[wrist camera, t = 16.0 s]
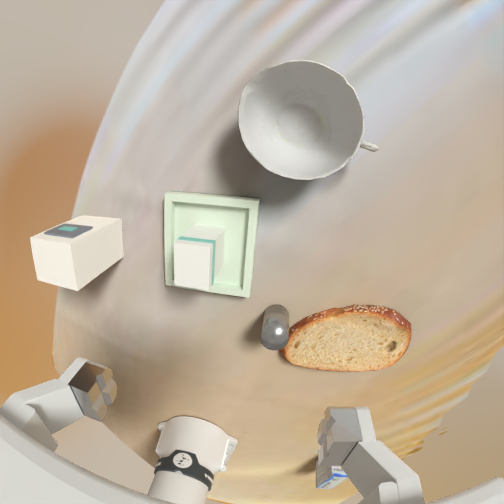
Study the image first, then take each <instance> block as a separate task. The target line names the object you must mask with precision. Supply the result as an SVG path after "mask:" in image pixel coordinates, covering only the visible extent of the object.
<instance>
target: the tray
mask: <svg viewBox="0 0 504 504" xmlns="http://www.w3.org/2000/svg"><path fill="white" fill-rule="evenodd" d="M259 205H260V199H259V198H249V197H239V196H229V195H217V194H205V193H192V192H178V191H169V192H167V193H165V204H164V247H165V281H166V285H168V286H174V287H180V288H186V289H192V290H199V291H206V292H212V293H219V294H226V295H233V296H241V297H248V298H250V294H251V288H252V278H253V267H254V257H255V247H256V237H257V226H258V216H259ZM195 224H199V225H209V226H218V227H226V231H225V247H224V263H223V265H222V267H221V269H220V271H219V273H218V275H217V276H216V278H215V280H214V283H213V285H212V286H211V287H210V289H209V290H202V289H196V288H189V287H183V286H177V285H175V284H174V242H175V241H176V240H177V239H178V238H179V237H180V236H182V235H184V234H185V233H186V232H187V231H188V230H189V229H191V228H192V227H193V226H194V225H195Z"/></svg>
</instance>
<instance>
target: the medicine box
mask: <svg viewBox="0 0 504 504" xmlns="http://www.w3.org/2000/svg"><path fill="white" fill-rule="evenodd" d="M346 478H348V476H347V475H346V473H345V472H344V471H343V469H342V468H341V466H319V459H318V460H317V461H316V488H321V489H332V488H334V487H335V486H337V485H338V484H340V483H341V482H342V481H344V480H345V479H346Z"/></svg>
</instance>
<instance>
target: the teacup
mask: <svg viewBox="0 0 504 504" xmlns="http://www.w3.org/2000/svg"><path fill="white" fill-rule="evenodd" d="M238 125H239V129H240V132H241V137H242V140H243V142H244V144H245V146H246V149H247V150H248V152H249V153H250V154H251V155H252V156H253V158H254V159H255V160H256V161H257V162H259V163H260V164H261V165H263V167H264V168H265V169H267V170H269V171H271V172H272V173H274V174H276V175H280V176H283V177H286V178H291V179H298V180H313V179H318V178H325V177H327V176H329V175H331V174H332V173H334V172H336V171H338V170H340V169H341V168H343V167H344V166H345V165H346V164H347V163H348V162H349V161H350V160H351V159H352V158H353V157H354V155H355V154H356V153H357V151H358V149H359V147H360V148H364V149H367V150H370V151H373V152H375V151H377V150H378V148H379V147H378V146H377V145H374V144H372V143H369V142H366V141H363V140H362V139H363V136H364V113H363V110H362V107H361V104H360V101H359V99H358V95H357V94H356V91H355V89H354V88H353V87H352V86H351V85H350V84H349V83H348V81H347V79H346V78H345V77H344V76H343V75H341V74H340V73H338V72H337V71H335V70H333V69H331V68H330V67H328V66H326V65H324V64H321V63H318V62H315V61H309V60H293V61H291V60H288V61H285V62H283V63H280V64H277V65H274V66H271V67H268V68H265V69H264V70H262V71H261V72H260V73H259V74H258V75H257V76H255V77H254V78H252V79H251V81H250V82H248V83H247V84H246V86H245V88H244V90H243V92H242V95H241V99H240V103H239V107H238Z"/></svg>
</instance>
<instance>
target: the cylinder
mask: <svg viewBox="0 0 504 504" xmlns="http://www.w3.org/2000/svg"><path fill="white" fill-rule="evenodd" d="M288 341H289V313H288V311H287V309H286V308H285V307H283V306H281V305H271V306H269V307H268V308H267V309H266V310H265V312H264V318H263V325H262V332H261V343H262V344H263V346H264V347H266V348H267V349H270V350H280V349H282V348H284V347H285V346H286V345H287V344H288Z"/></svg>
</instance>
